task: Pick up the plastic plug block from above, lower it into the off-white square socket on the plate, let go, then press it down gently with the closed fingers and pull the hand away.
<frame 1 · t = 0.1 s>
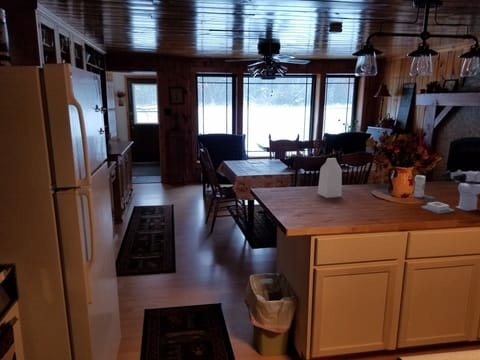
hand: (447, 176, 214), 22 cm above the countertop, tool horizontal, fingers open, 7 cm apart
syrup box: (417, 196, 253), on the countertop
milk: (329, 195, 257), on the countertop
plug: (429, 204, 235), on the countertop
socket plate: (437, 209, 224), on the countertop
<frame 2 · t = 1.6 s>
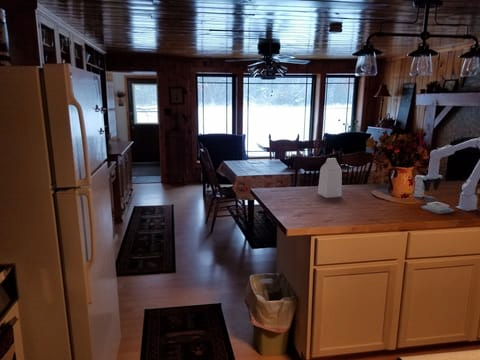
hand: (431, 190, 232), 9 cm above the countertop, tool pointing down, fingers open, 7 cm apart
nothing on the countertop moved.
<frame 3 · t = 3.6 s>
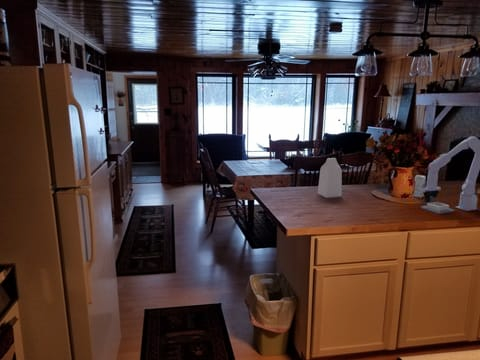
hand: (429, 202, 234), 2 cm above the countertop, tool pointing down, fingers closed on plug, 4 cm apart
plug: (429, 204, 235), on the countertop, touching gripper
everything else where it was.
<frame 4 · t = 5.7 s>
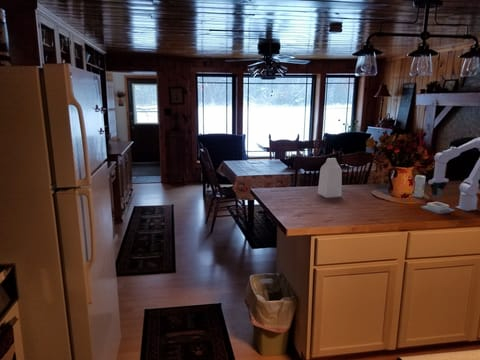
hand: (436, 194, 225), 9 cm above the countertop, tool pointing down, fingers closed on plug, 4 cm apart
plug: (436, 196, 225), point 7 cm above the countertop, touching gripper
everything else where it was.
when the fingers open (4 cm above the countertop, at t = 7.9 s): plug drops 1 cm, resting on socket plate.
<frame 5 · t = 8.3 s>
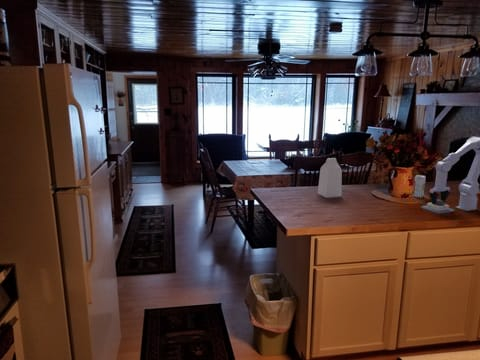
hand: (438, 203, 223), 4 cm above the countertop, tool pointing down, fingers open, 7 cm apart
plug: (437, 208, 224), point 1 cm above the countertop, touching socket plate
everything else where it was.
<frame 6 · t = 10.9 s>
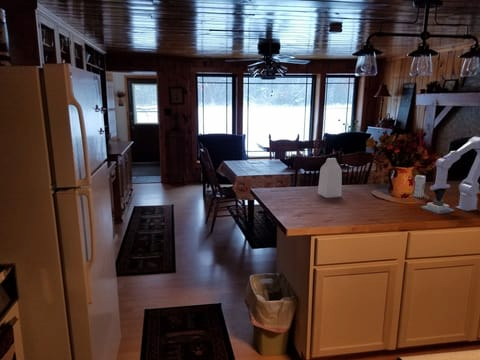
hand: (438, 200, 222), 6 cm above the countertop, tool pointing down, fingers closed, pressing on plug
plug: (437, 208, 224), point 1 cm above the countertop, touching gripper, socket plate
everything else where it was.
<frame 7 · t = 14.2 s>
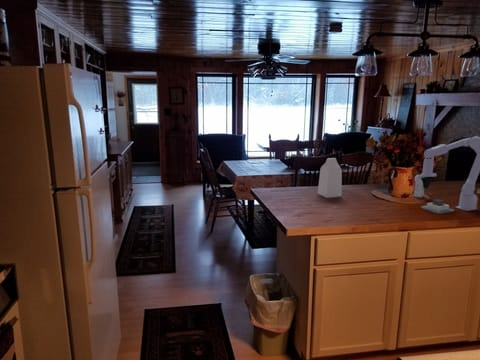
hand: (425, 188, 237), 9 cm above the countertop, tool pointing down, fingers closed
plug: (437, 208, 224), point 1 cm above the countertop, touching socket plate
everything else where it was.
at the end: plug 0.1 cm off-centre on the socket plate, point 1.0 cm above the socket plate's base; plug tilted 0°; the gripper is holding nothing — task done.
